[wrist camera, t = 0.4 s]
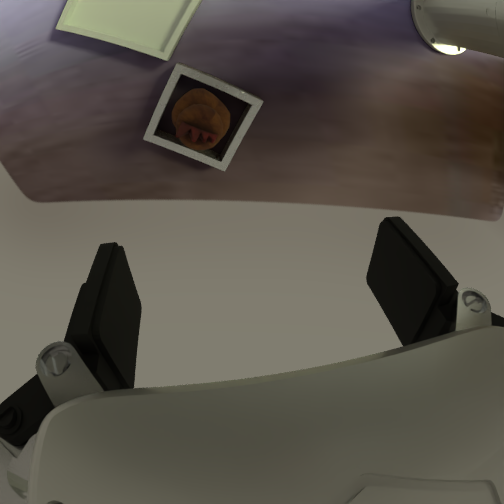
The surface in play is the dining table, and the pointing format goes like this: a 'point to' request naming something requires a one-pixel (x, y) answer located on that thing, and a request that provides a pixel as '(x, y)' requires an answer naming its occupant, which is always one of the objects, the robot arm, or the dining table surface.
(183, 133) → the brown lumpy elongated piece
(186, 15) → the sage tray
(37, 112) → the dining table surface
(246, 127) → the white square bin
